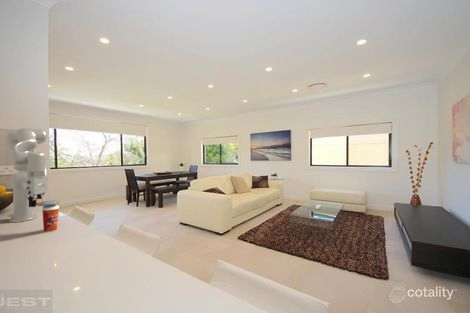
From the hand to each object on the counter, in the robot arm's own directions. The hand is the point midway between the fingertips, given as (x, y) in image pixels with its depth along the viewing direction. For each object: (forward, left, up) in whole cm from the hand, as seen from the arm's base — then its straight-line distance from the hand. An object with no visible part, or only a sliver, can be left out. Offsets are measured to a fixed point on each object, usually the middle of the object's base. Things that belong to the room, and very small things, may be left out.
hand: (35, 205), depth 119 cm
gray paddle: (+5, 0, +1) cm, 5 cm away
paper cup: (+8, 0, -15) cm, 17 cm away
